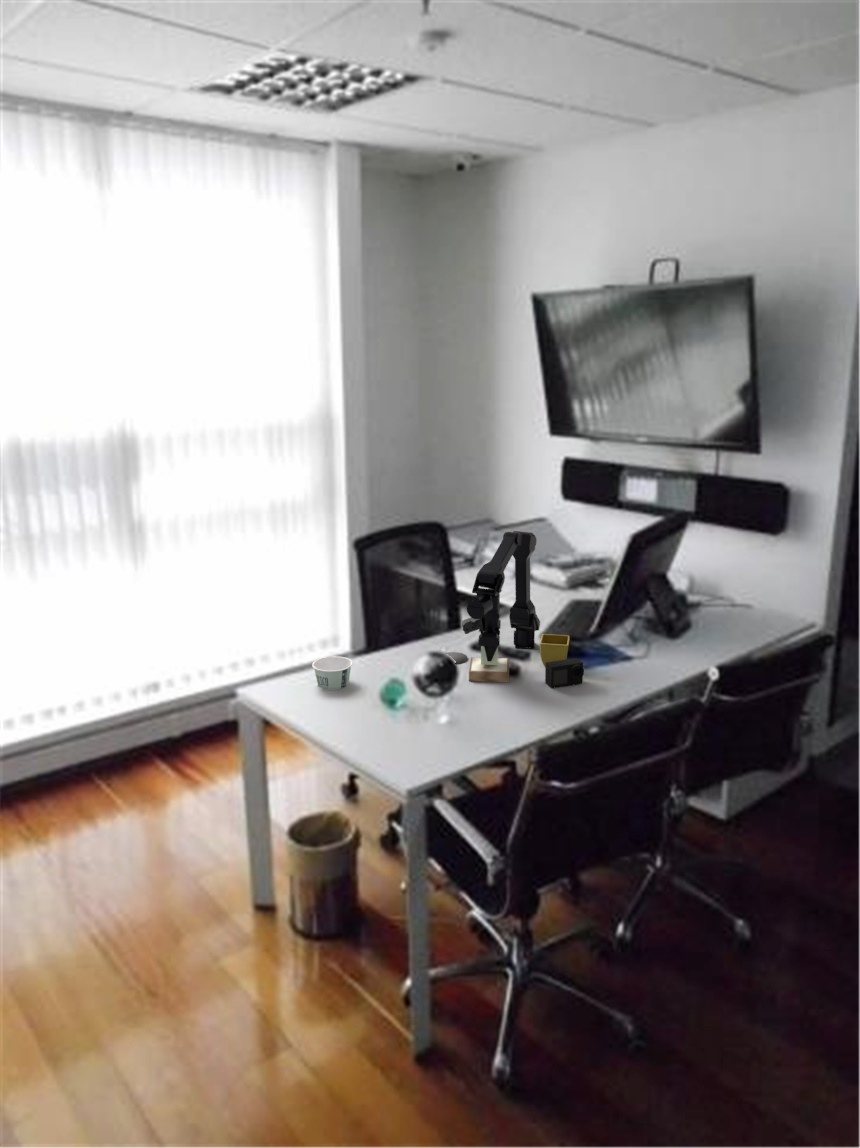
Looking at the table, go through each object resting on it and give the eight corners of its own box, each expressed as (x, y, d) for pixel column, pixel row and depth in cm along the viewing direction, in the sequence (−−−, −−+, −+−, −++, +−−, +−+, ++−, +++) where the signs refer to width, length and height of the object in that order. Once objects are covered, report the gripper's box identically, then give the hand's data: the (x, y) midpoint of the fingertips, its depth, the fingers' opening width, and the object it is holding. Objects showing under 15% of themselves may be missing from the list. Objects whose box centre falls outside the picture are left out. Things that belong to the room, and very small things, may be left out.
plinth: (509, 667, 276) (509, 657, 275) (508, 682, 264) (509, 672, 263) (470, 666, 277) (470, 656, 276) (468, 681, 265) (468, 671, 264)
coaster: (468, 654, 287) (468, 652, 287) (466, 664, 278) (466, 662, 278) (440, 653, 288) (440, 651, 288) (438, 663, 279) (438, 661, 279)
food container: (361, 680, 267) (360, 660, 265) (337, 694, 257) (336, 673, 255) (329, 673, 272) (328, 653, 271) (305, 686, 263) (303, 666, 261)
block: (497, 659, 272) (498, 640, 270) (497, 665, 267) (497, 646, 265) (481, 658, 272) (481, 640, 270) (480, 664, 267) (481, 646, 266)
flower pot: (567, 672, 271) (568, 644, 269) (538, 670, 273) (539, 643, 270) (568, 662, 280) (569, 635, 277) (541, 660, 281) (541, 633, 279)
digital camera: (552, 690, 258) (553, 668, 256) (544, 683, 263) (545, 661, 261) (584, 685, 261) (585, 663, 259) (576, 679, 266) (576, 657, 264)
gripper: (465, 599, 275) (465, 646, 279) (461, 619, 257) (461, 668, 261) (500, 600, 273) (500, 647, 278) (499, 619, 256) (499, 669, 260)
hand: (489, 658), depth 269 cm, fingers closed on block, 5 cm apart
